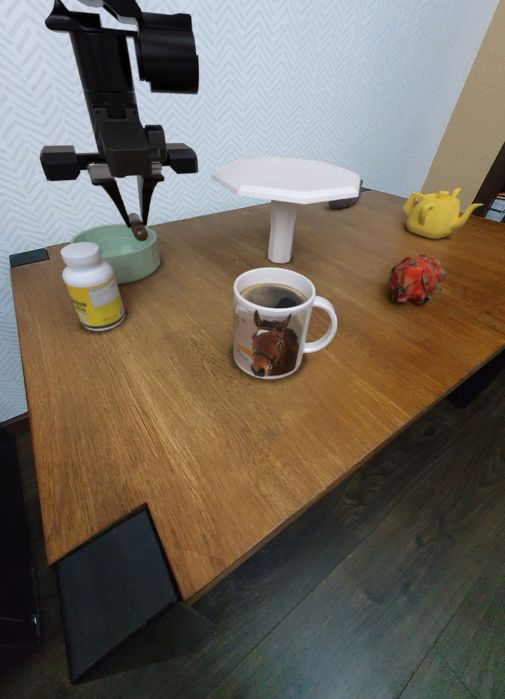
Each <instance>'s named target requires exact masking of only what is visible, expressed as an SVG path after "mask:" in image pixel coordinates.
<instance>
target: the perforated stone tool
mask: <svg viewBox="0 0 505 699" xmlns="http://www.w3.org/2000/svg"><path fill="white" fill-rule="evenodd" d="M360 180H361V182H360V188H359V194H358V197H353V198H345V199H338V200H331V201H328V205H329V207H330V209H333V210H338V209H343V208H348V207H350V206H352V205H354V204H356V203H357V202H358V201H359V200H360V198H361V196H362V187H363V184H364V180H363V179H361V178H360Z"/></svg>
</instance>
